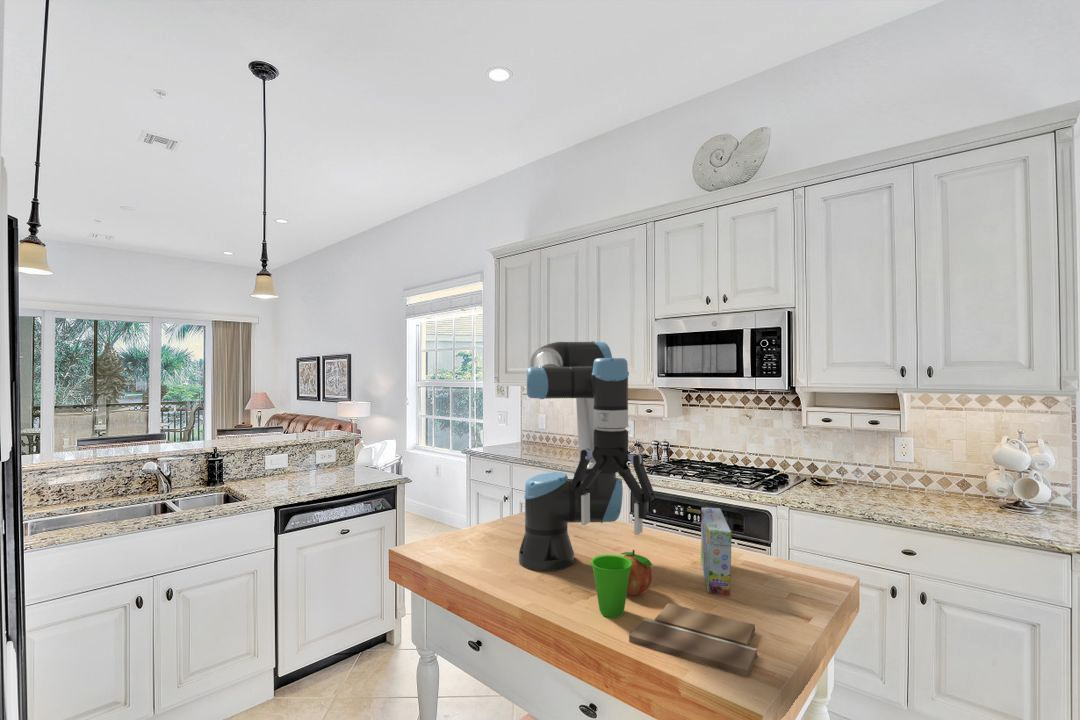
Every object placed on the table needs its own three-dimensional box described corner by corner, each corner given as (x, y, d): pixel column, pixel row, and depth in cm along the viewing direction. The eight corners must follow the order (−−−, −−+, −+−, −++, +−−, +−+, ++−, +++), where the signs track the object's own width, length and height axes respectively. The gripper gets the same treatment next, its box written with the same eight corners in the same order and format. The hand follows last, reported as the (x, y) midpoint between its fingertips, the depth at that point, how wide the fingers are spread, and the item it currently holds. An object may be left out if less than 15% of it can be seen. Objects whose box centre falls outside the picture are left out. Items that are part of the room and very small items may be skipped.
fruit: (631, 604, 120) (630, 559, 120) (606, 588, 129) (606, 546, 129) (661, 596, 124) (660, 553, 124) (635, 581, 133) (635, 541, 133)
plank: (654, 625, 110) (654, 619, 110) (668, 608, 117) (668, 603, 117) (746, 650, 101) (746, 644, 101) (755, 630, 108) (754, 624, 108)
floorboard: (629, 641, 104) (629, 634, 104) (644, 624, 111) (644, 618, 111) (747, 677, 92) (747, 669, 92) (756, 655, 99) (756, 648, 99)
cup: (587, 603, 120) (587, 555, 120) (627, 602, 121) (626, 553, 121) (595, 623, 111) (594, 570, 111) (637, 621, 112) (637, 569, 112)
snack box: (733, 596, 124) (732, 531, 124) (707, 594, 125) (707, 530, 125) (721, 562, 145) (720, 506, 145) (699, 561, 146) (699, 505, 146)
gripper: (554, 427, 120) (554, 523, 120) (658, 434, 107) (658, 543, 107) (570, 423, 126) (571, 515, 126) (670, 430, 113) (671, 532, 113)
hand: (611, 528), depth 116 cm, fingers open, 12 cm apart
